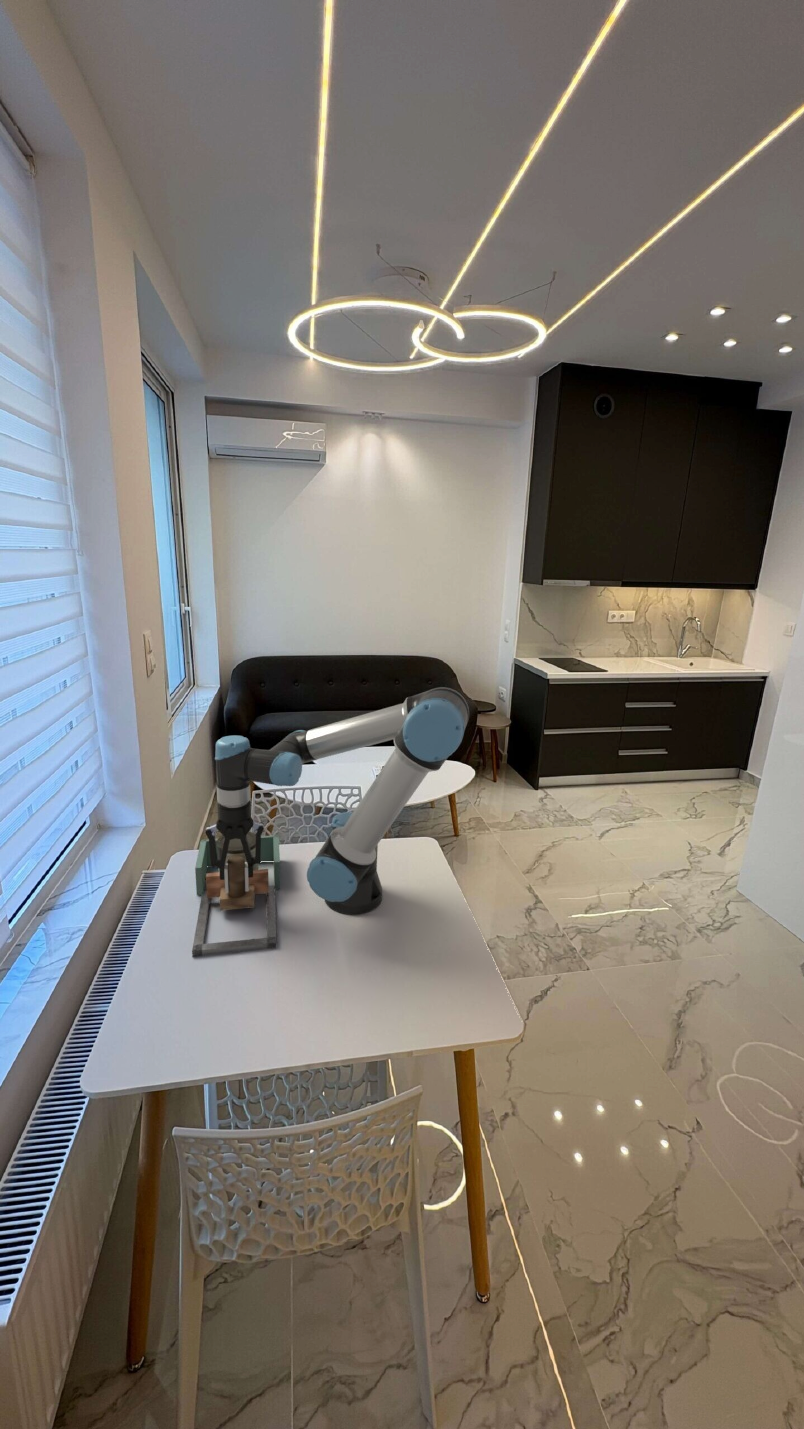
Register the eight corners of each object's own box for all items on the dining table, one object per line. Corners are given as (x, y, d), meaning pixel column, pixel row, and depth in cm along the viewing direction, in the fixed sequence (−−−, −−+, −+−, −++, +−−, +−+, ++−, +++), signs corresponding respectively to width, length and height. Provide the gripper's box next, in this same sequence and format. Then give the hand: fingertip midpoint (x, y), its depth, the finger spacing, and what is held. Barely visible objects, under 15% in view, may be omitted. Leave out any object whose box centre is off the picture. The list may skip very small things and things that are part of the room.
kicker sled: (268, 889, 151) (267, 847, 148) (268, 906, 144) (268, 862, 141) (207, 894, 148) (205, 851, 144) (204, 911, 141) (202, 867, 137)
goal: (278, 860, 169) (278, 835, 166) (280, 888, 155) (279, 861, 153) (202, 865, 164) (200, 839, 162) (196, 895, 150) (195, 867, 148)
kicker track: (274, 890, 154) (274, 885, 154) (276, 948, 132) (276, 942, 132) (202, 896, 150) (202, 891, 149) (192, 956, 128) (192, 950, 128)
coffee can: (210, 889, 153) (208, 840, 149) (241, 873, 161) (240, 826, 157) (236, 904, 148) (234, 854, 144) (267, 886, 156) (266, 838, 152)
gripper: (271, 793, 142) (272, 878, 149) (197, 796, 138) (201, 884, 145) (271, 806, 135) (273, 894, 142) (194, 810, 131) (199, 901, 138)
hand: (237, 889), depth 143 cm, fingers closed on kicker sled, 4 cm apart
